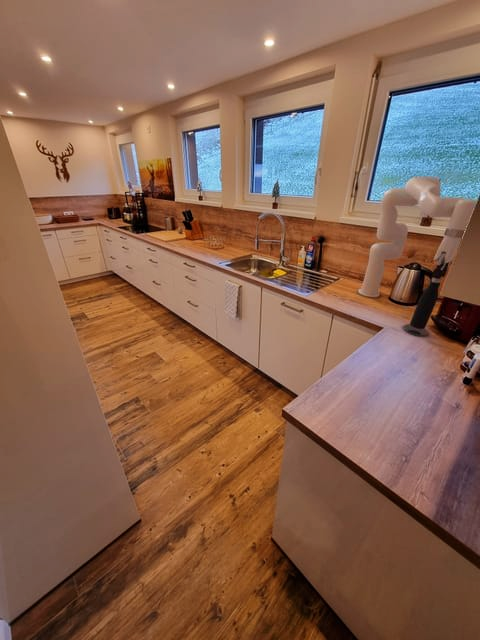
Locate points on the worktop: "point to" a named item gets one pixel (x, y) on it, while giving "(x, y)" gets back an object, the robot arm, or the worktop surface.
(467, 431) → the worktop surface
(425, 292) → the black bottle
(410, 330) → the slate coaster
